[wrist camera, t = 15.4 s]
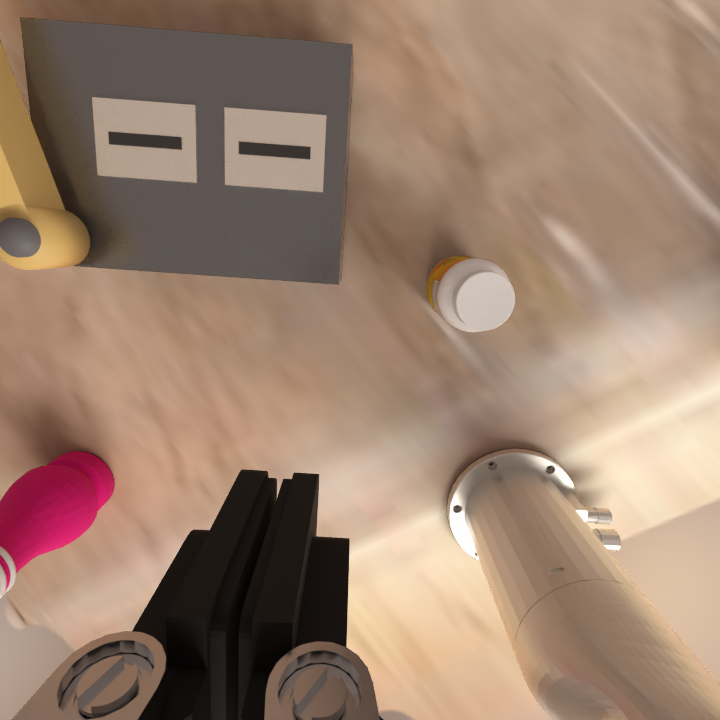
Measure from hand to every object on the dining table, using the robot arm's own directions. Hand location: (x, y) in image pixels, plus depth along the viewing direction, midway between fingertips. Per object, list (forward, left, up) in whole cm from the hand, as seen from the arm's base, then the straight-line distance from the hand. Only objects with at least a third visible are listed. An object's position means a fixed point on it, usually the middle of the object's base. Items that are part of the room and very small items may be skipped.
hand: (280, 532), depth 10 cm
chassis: (+11, -11, -31) cm, 35 cm away
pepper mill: (+24, +18, -31) cm, 43 cm away
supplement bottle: (-10, -3, -31) cm, 33 cm away
